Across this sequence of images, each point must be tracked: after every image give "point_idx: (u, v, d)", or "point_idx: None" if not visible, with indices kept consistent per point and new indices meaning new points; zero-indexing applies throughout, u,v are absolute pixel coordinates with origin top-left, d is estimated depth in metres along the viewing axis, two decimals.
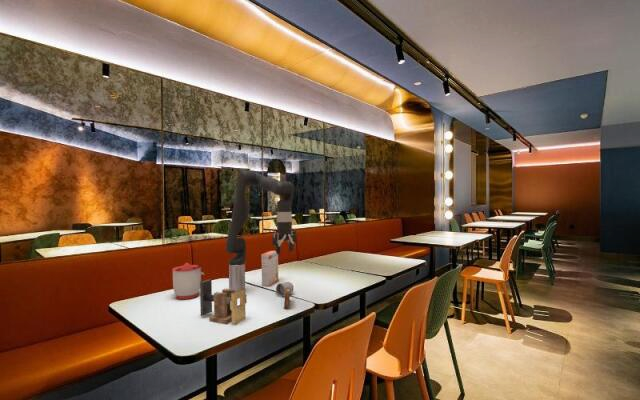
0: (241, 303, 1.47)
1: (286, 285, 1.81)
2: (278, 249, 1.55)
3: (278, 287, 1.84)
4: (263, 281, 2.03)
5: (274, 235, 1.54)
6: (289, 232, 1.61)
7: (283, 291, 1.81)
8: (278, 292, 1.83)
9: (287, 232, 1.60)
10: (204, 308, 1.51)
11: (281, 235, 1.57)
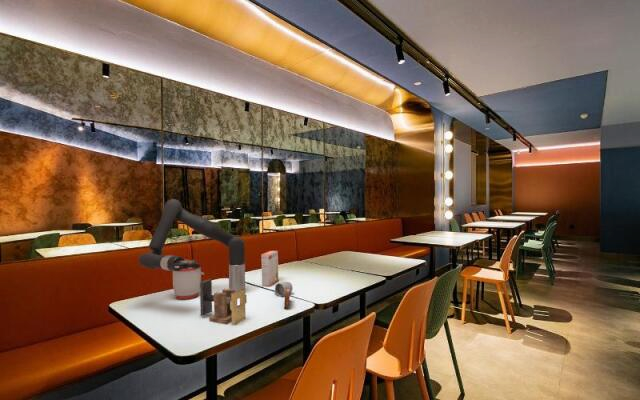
0: (241, 303, 1.47)
1: (285, 285, 1.82)
2: (193, 264, 1.55)
3: (277, 287, 1.85)
4: (263, 281, 2.03)
5: (176, 266, 1.53)
6: None
7: (282, 291, 1.82)
8: (277, 292, 1.84)
9: None
10: (204, 308, 1.51)
11: (180, 263, 1.56)
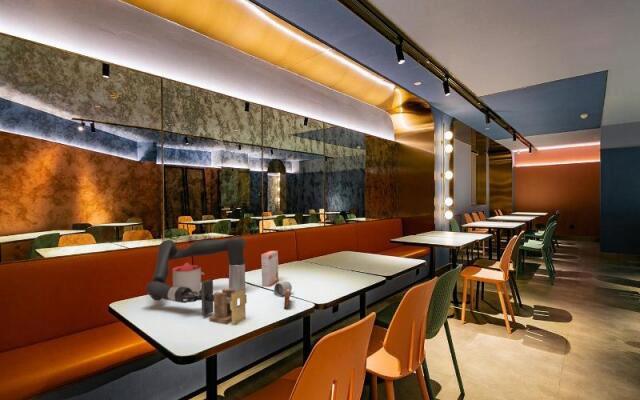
0: (241, 303, 1.47)
1: (284, 285, 1.82)
2: (201, 296, 1.54)
3: (276, 287, 1.85)
4: (263, 281, 2.03)
5: (185, 299, 1.51)
6: None
7: (281, 291, 1.82)
8: (276, 292, 1.84)
9: (190, 292, 1.59)
10: (205, 308, 1.51)
11: (188, 295, 1.54)
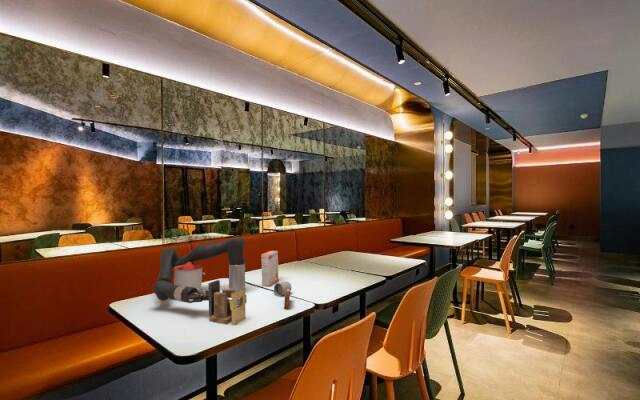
0: (241, 303, 1.47)
1: (284, 284, 1.82)
2: (207, 297, 1.51)
3: (276, 286, 1.85)
4: (263, 281, 2.03)
5: (191, 299, 1.49)
6: None
7: (281, 290, 1.82)
8: (276, 291, 1.85)
9: (196, 292, 1.57)
10: (212, 309, 1.49)
11: (194, 295, 1.52)
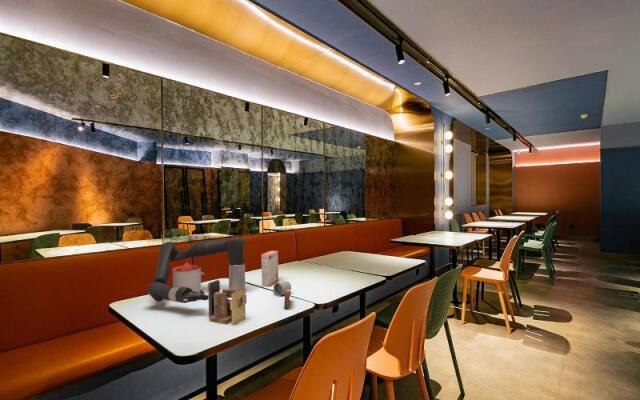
0: (241, 303, 1.47)
1: (284, 284, 1.82)
2: (202, 296, 1.53)
3: (276, 286, 1.86)
4: (263, 281, 2.03)
5: (185, 299, 1.51)
6: None
7: (281, 290, 1.83)
8: (276, 291, 1.85)
9: None
10: (212, 309, 1.49)
11: (188, 295, 1.54)
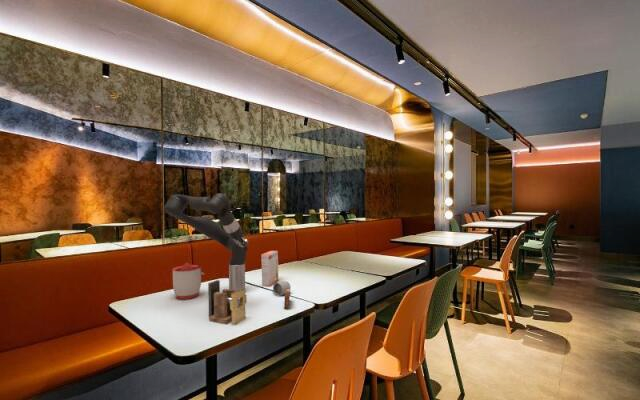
0: (241, 303, 1.47)
1: (283, 284, 1.83)
2: (246, 246, 1.72)
3: (275, 286, 1.86)
4: (263, 281, 2.03)
5: (247, 241, 1.65)
6: None
7: (280, 290, 1.83)
8: (275, 291, 1.85)
9: None
10: (212, 309, 1.49)
11: None
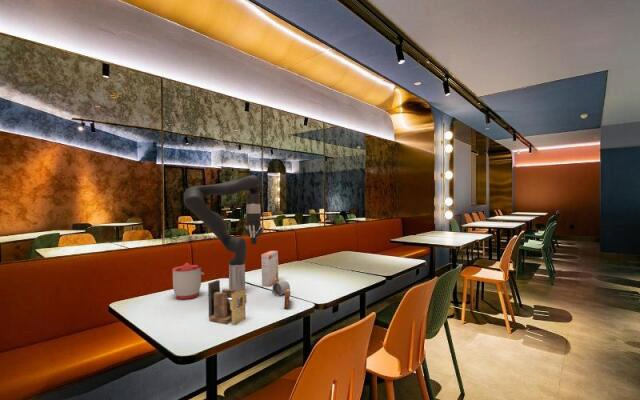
0: (241, 303, 1.47)
1: (282, 284, 1.83)
2: None
3: (275, 286, 1.86)
4: (263, 281, 2.03)
5: (263, 229, 1.67)
6: None
7: (279, 290, 1.83)
8: (275, 291, 1.85)
9: None
10: (212, 309, 1.49)
11: None
